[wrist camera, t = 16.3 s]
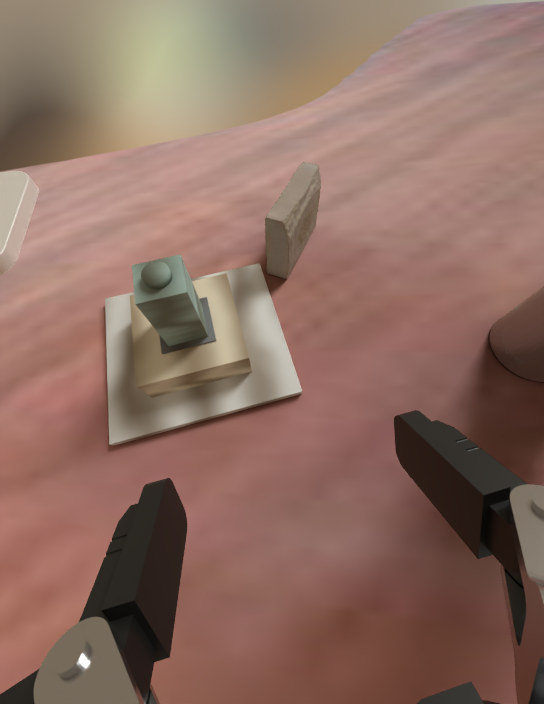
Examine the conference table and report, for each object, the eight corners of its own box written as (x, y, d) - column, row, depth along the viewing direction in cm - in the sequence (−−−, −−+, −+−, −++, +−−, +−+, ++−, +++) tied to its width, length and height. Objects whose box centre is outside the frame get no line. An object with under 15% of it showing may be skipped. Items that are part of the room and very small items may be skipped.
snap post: (201, 304, 33) (177, 247, 26) (208, 336, 32) (184, 286, 24) (164, 313, 33) (127, 258, 25) (168, 346, 31) (130, 298, 23)
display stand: (260, 268, 42) (257, 240, 38) (301, 393, 34) (305, 379, 29) (108, 302, 40) (86, 278, 36) (114, 445, 32) (85, 438, 27)
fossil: (295, 219, 46) (299, 159, 38) (316, 225, 46) (324, 165, 37) (265, 273, 42) (261, 218, 33) (287, 281, 41) (289, 227, 33)
